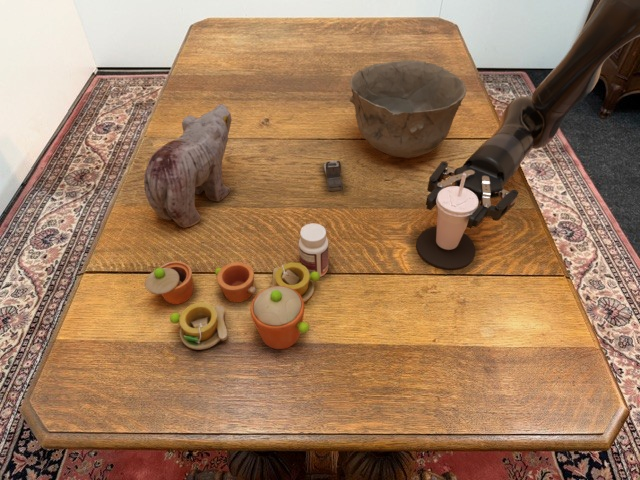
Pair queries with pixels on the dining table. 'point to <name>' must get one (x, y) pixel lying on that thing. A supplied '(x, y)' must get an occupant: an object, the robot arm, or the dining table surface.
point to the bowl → (406, 105)
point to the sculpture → (189, 167)
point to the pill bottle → (314, 248)
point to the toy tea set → (238, 285)
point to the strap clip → (333, 175)
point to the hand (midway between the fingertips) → (449, 214)
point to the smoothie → (454, 214)
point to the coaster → (444, 251)
